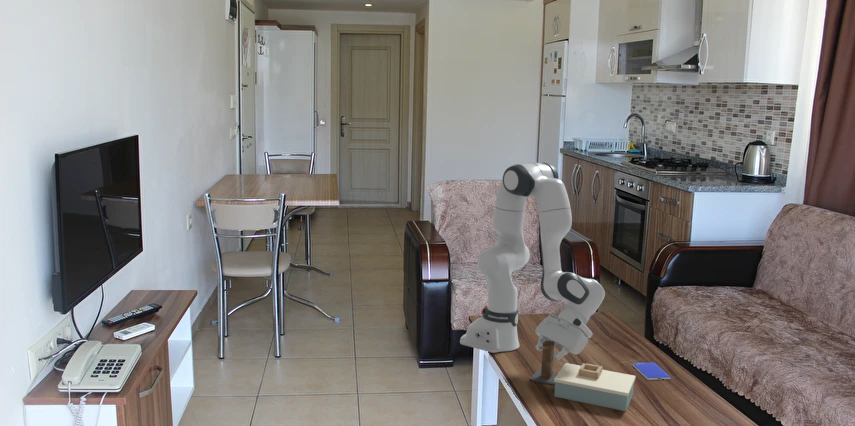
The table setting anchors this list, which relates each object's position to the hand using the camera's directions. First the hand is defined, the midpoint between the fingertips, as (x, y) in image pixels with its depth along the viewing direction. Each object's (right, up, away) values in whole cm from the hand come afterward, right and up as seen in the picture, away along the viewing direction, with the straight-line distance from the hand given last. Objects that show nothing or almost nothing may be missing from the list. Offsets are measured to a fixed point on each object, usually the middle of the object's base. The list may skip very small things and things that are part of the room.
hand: (546, 354), depth 230 cm
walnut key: (0, -8, +2) cm, 8 cm away
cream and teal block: (+13, -11, -11) cm, 20 cm away
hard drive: (+38, -9, +9) cm, 40 cm away
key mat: (0, -8, +2) cm, 9 cm away
